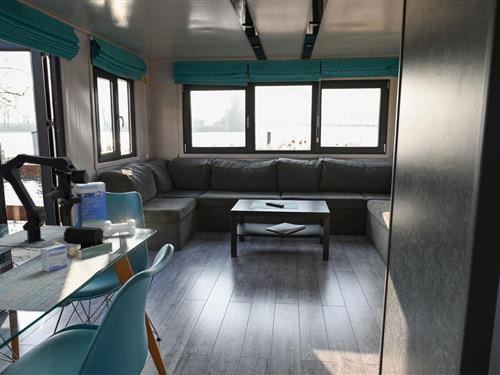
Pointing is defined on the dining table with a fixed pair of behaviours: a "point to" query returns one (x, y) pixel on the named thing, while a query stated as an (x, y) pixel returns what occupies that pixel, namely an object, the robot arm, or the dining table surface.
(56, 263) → the medicine box
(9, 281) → the dining table surface
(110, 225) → the bone shaped toy
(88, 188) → the string lights box
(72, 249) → the charging rails
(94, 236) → the security camera
